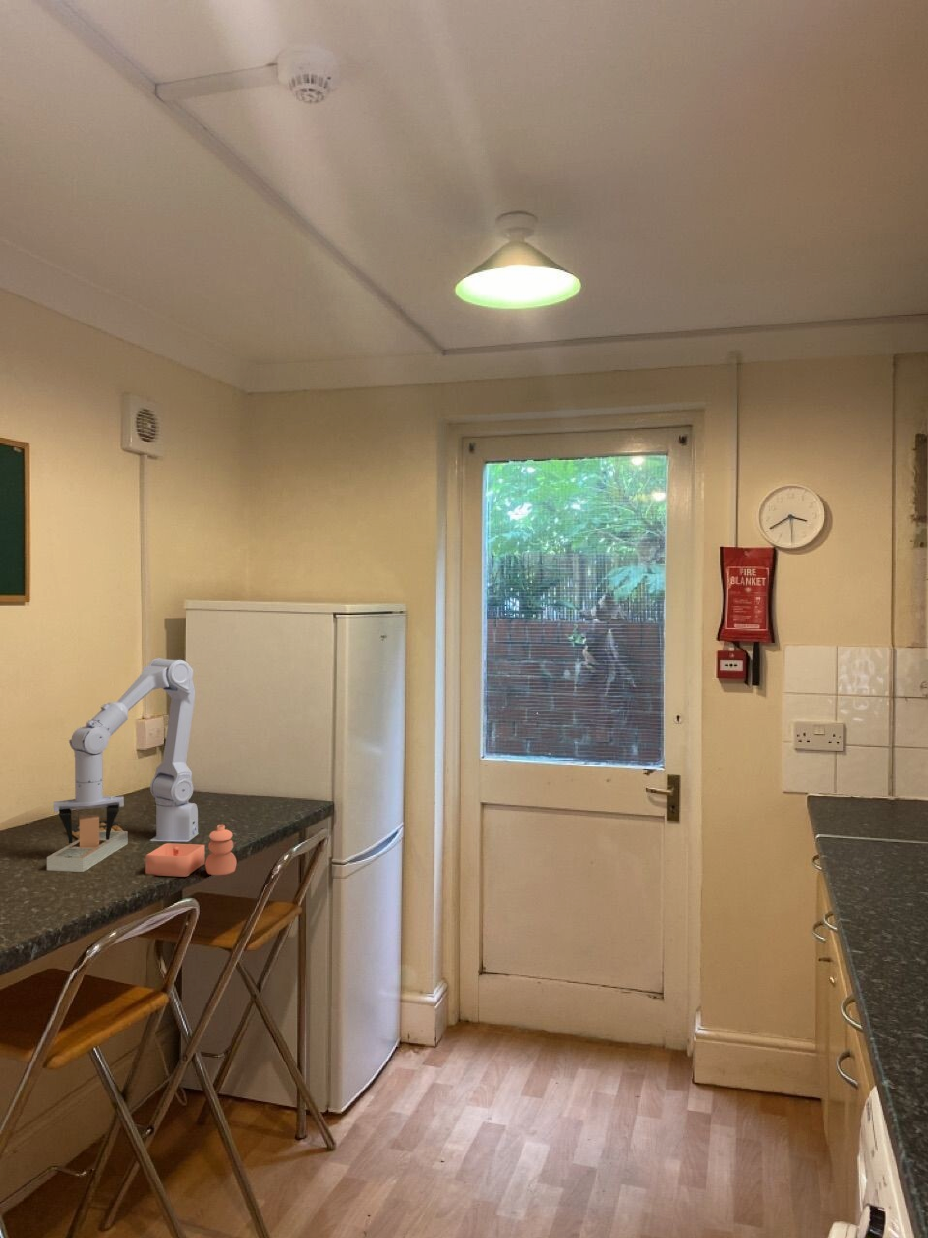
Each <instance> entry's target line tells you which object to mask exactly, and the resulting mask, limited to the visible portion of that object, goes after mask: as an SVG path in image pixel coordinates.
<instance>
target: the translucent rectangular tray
mask: <svg viewBox="0 0 928 1238" xmlns="http://www.w3.org/2000/svg"><path fill="white" fill-rule="evenodd" d="M128 833H129V832H128V831H127V830H123V831H111V832H110V838H109V840H106V831H99V846H97V847H80V839H77V840H75V841H72V843H69V844H68V845H66V846H64V847H62V848H60V849H59V850H57V851H56V852H53V853H52V854H50V855H48V856H46V871H47V872H49V871H51V872H68V873H69V872H72V873H73V872H74V873H75V872H76V873H83V872H86V871H87V870H89V869H90V868H92V867H93V866H95V865H96V864H98V863H100V862H101V861H103V860H105V859H106V858H107V857H109V856H110V855H113V854H114V853H116V852H117V851H119V850H120V849H122V848H123V847H125V846H126V845H128V843H129V842H128V841H129V839H128Z"/></svg>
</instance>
